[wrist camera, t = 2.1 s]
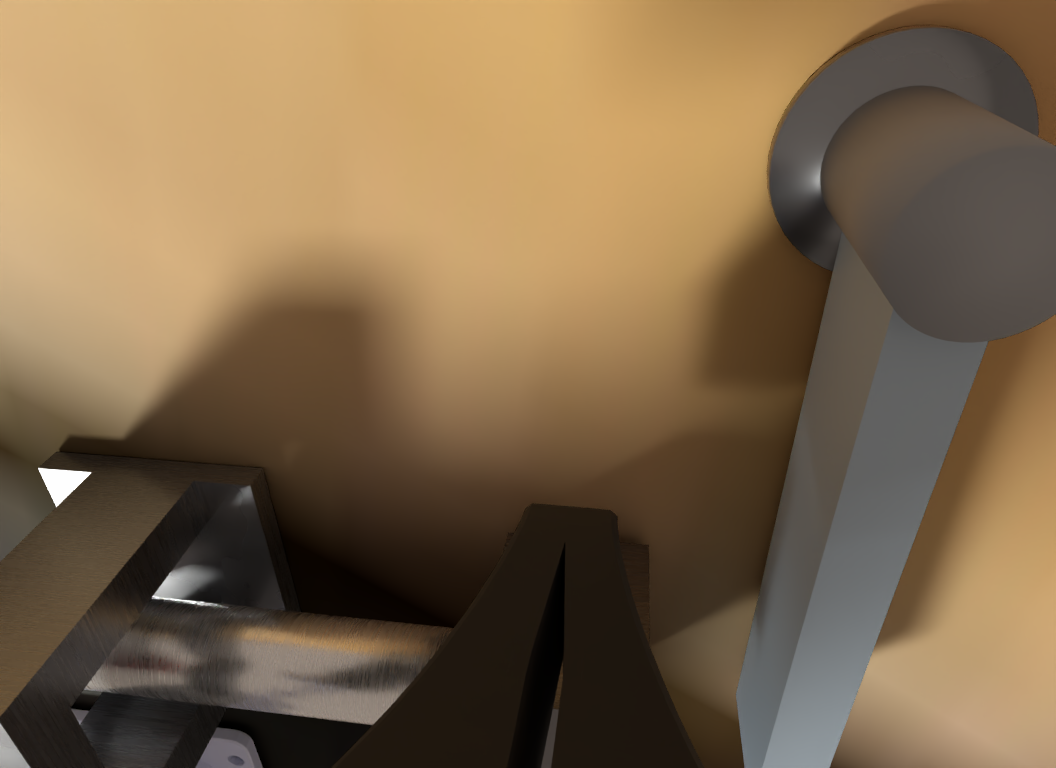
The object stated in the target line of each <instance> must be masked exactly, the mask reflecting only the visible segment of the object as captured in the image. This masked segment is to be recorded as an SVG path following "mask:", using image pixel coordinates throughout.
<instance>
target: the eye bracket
mask: <svg viewBox="0 0 1056 768" xmlns="http://www.w3.org/2000/svg"><path fill="white" fill-rule="evenodd" d="M38 469H39V471H40V473H41V476H42V478H43V480H44V482H45V484H46V486H47V488H48V490H49V492H50V494H51V496H52V499H53V501H54V503H55V505H56V508H55V509H54V510H53V511H52V512H51V513H50V514H49V515H48V516H47V517H46V518H45V519H44V520H43V521H42V522H41V523H40V524H39V525H38V526H36V527H35V528H34V529H33V530H32V531H31V532H30V533H29V534H28V535H27V536H26V537H25V538H24V539H23V540H22V541H21V542H20V543H19V544H18V545H17V546H16V547H15V548H14V549H13V550H12V551H11V552H10V553H9V554H8V555H7V556H6V557H5V558H4V559H3V560H2V561H1V562H0V768H196V766H197V764H198V762H199V760H200V758H201V756H202V755H203V753H204V751H205V749H206V747H207V745H208V743H209V742H210V740H211V738H212V736H213V734H214V732H215V730H216V728H217V727H218V725H219V723H220V721H221V719H222V717H223V715H224V714H225V712H226V710H227V708H228V707H222V706H214V705H206V704H198V703H189V702H181V701H173V700H165V699H157V698H149V697H141V696H133V695H125V694H117V693H109V692H103V693H102V694H101V695H100V697H99V698H98V700H97V701H96V702H95V704H94V705H93V707H92V708H91V709H90V711H89V712H88V714H87V715H86V716H85V718H84V719H83V721H82V722H81V723H80V724H79V722H78V720H77V719H76V717H75V715H74V713H73V712H72V710H71V708H70V707H71V706H72V705H73V703H74V702H75V701H76V699H77V698H78V697H79V695H80V694H81V693H82V691H83V690H84V689H85V687H86V686H87V685H88V683H89V682H90V680H91V679H92V678H93V676H94V675H95V674H96V672H97V671H98V670H99V668H100V667H101V666H102V664H103V663H104V662H105V660H106V659H107V657H108V656H109V655H110V653H111V652H112V651H113V649H114V648H115V647H116V645H117V644H118V643H119V641H120V640H121V639H122V637H123V636H124V634H125V633H126V632H127V630H128V629H129V628H130V626H131V625H132V624H133V622H134V621H135V620H136V618H137V617H138V616H139V614H140V613H141V611H142V610H143V609H144V607H145V606H146V605H147V603H148V602H149V601H150V599H151V598H152V597H162V598H172V599H181V600H191V601H200V602H210V603H219V604H229V605H238V606H248V607H257V608H267V609H276V610H286V611H295V612H301V610H300V606H299V602H298V599H297V595H296V591H295V587H294V584H293V580H292V576H291V572H290V569H289V565H288V561H287V557H286V554H285V550H284V546H283V542H282V539H281V535H280V531H279V527H278V524H277V520H276V516H275V512H274V509H273V505H272V501H271V497H270V494H269V490H268V486H267V482H266V479H265V475H264V471H263V468H253V467H241V466H229V465H216V464H204V463H191V462H179V461H166V460H154V459H141V458H129V457H116V456H104V455H91V454H79V453H66V452H56V453H54V454H53V455H52V456H51V457H50V458H49V459H48V460H47V461H45V462H44V463H43V464H42V465H41V466H40V467H39V468H38Z"/></svg>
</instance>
